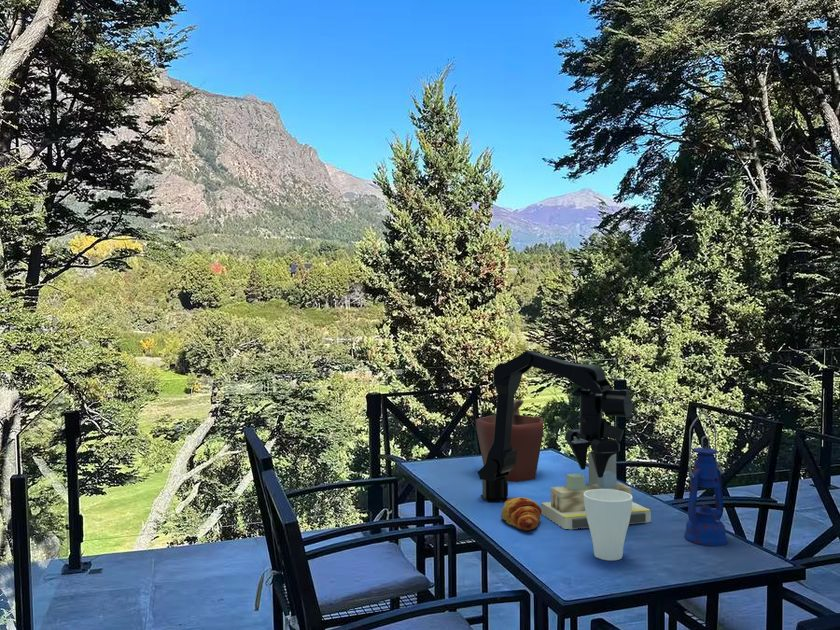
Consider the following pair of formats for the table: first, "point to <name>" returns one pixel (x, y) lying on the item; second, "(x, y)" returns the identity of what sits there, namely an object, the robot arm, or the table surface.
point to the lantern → (705, 519)
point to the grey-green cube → (575, 482)
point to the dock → (580, 519)
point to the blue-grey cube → (607, 480)
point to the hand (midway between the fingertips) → (591, 473)
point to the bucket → (515, 442)
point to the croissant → (521, 513)
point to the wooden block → (576, 497)
